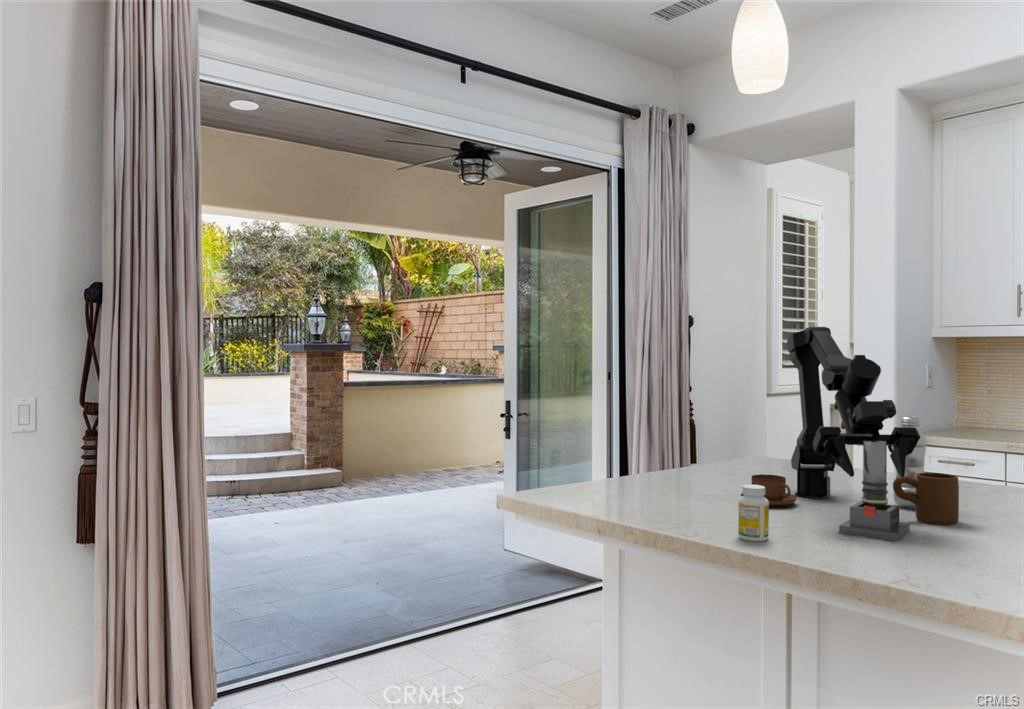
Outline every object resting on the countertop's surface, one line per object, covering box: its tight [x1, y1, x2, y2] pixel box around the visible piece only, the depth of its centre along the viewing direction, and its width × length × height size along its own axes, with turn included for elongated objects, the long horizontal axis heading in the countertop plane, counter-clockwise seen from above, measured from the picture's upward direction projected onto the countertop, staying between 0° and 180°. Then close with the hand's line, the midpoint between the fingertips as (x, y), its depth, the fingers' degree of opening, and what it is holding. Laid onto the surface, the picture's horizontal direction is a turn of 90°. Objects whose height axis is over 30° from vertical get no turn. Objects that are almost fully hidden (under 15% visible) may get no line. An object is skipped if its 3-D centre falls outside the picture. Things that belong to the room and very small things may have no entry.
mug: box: [892, 472, 960, 526], centre depth 151 cm, size 12×8×9 cm, turn 77°
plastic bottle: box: [892, 415, 928, 509], centre depth 164 cm, size 6×7×20 cm
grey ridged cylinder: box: [861, 440, 889, 505], centre depth 142 cm, size 4×4×12 cm
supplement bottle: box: [737, 484, 770, 542], centre depth 138 cm, size 5×5×10 cm
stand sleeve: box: [838, 500, 911, 543], centre depth 142 cm, size 10×10×6 cm
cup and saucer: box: [740, 474, 798, 507], centre depth 169 cm, size 12×12×6 cm
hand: (877, 475), depth 141 cm, fingers open, 9 cm apart
